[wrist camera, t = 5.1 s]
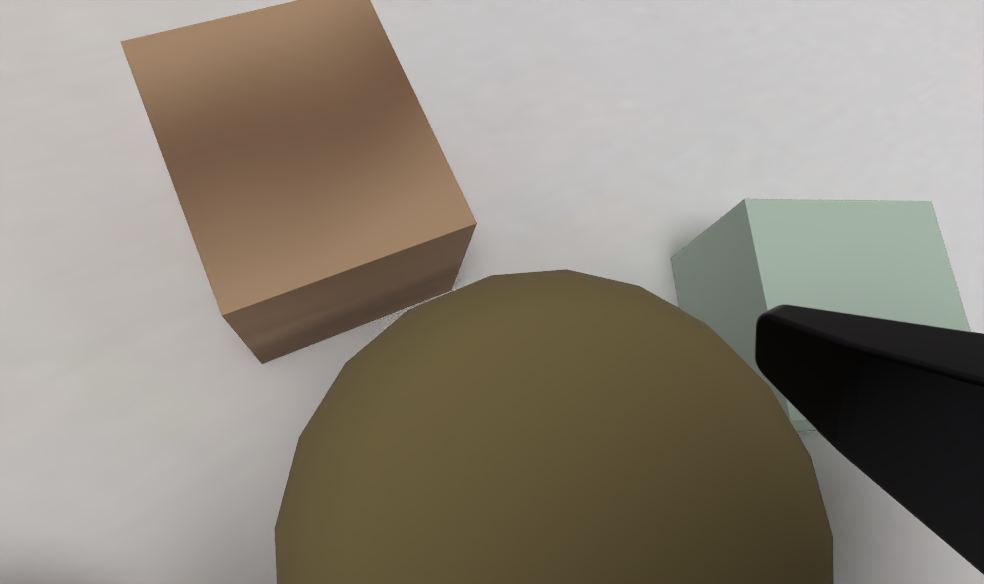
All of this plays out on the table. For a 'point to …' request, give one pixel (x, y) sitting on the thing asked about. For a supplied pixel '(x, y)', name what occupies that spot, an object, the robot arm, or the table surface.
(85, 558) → the table surface
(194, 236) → the walnut block
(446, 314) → the olive pawn
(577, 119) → the table surface
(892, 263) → the sage block
